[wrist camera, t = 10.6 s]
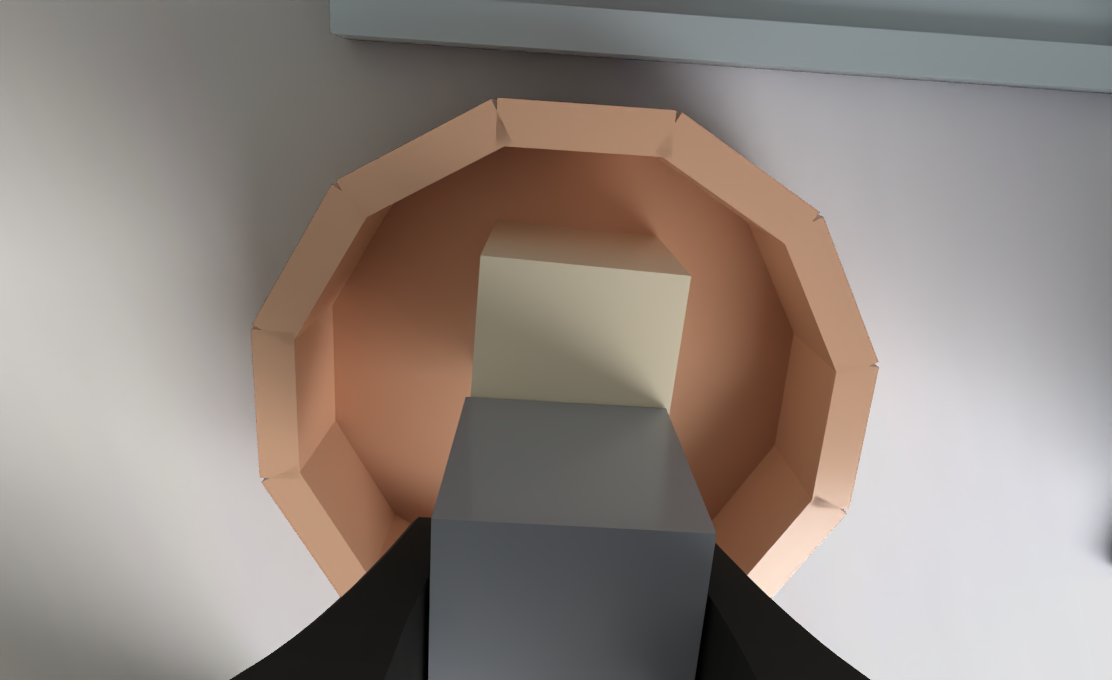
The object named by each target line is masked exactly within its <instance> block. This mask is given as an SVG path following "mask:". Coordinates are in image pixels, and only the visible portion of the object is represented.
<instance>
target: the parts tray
mask: <svg viewBox="0 0 1112 680" xmlns="http://www.w3.org/2000/svg"><path fill="white" fill-rule="evenodd" d="M329 7H330V33H331V34H334V35H336V36H339V37H342V38H345V39H354V40H368V41H382V42H396V43H410V44H424V45H437V46H451V47H465V48H479V49H493V50H507V51H521V52H535V53H549V54H563V55H577V56H591V57H605V58H619V59H633V60H647V61H661V62H675V63H689V64H703V65H717V66H730V67H744V68H758V69H772V70H786V71H800V72H814V73H828V74H842V75H856V76H870V77H884V78H898V79H912V80H926V81H940V82H954V83H968V84H982V85H996V86H1010V87H1023V88H1037V89H1051V90H1065V91H1079V92H1093V93H1107V94H1112V0H329Z"/></svg>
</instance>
